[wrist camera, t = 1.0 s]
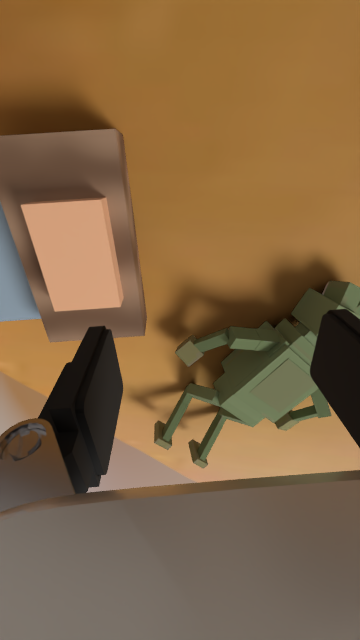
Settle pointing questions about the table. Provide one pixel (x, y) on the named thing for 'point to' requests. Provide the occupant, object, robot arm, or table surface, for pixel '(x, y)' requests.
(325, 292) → the toy
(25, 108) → the table surface
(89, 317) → the plate
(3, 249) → the mat
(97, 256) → the tan flat block
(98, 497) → the robot arm
